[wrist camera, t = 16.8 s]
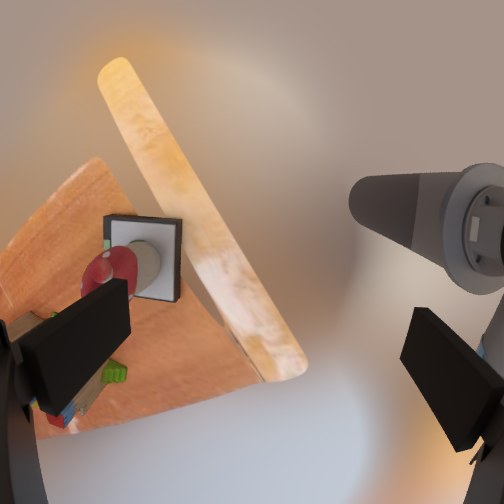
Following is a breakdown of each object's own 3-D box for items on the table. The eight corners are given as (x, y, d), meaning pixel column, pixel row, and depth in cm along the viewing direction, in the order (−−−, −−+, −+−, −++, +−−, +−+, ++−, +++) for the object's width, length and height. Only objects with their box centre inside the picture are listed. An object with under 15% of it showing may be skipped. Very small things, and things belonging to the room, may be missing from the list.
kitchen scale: (182, 219, 43) (175, 221, 40) (180, 297, 46) (174, 304, 43) (110, 214, 44) (101, 216, 41) (112, 287, 47) (103, 293, 44)
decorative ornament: (151, 224, 41) (93, 245, 26) (179, 261, 42) (134, 300, 27) (109, 261, 42) (48, 294, 28) (135, 296, 43) (83, 342, 29)
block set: (20, 341, 52) (-33, 380, 33) (19, 288, 49) (-45, 323, 30) (121, 403, 52) (79, 467, 34) (130, 353, 49) (77, 420, 30)
